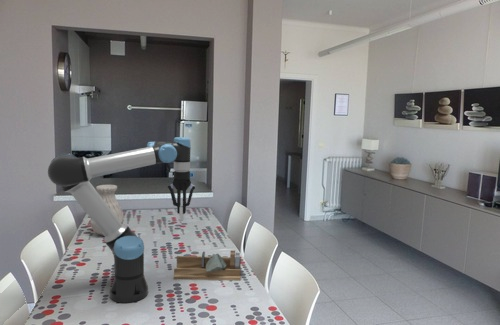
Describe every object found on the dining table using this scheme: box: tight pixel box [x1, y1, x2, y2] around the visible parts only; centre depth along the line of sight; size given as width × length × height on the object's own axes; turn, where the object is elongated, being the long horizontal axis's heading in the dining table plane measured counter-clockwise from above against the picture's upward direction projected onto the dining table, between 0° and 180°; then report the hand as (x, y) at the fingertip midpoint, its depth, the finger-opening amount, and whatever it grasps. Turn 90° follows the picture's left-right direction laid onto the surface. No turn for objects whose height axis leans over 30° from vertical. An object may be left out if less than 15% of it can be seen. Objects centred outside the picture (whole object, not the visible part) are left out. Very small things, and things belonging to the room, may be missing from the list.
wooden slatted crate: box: [173, 250, 242, 281], centre depth 180 cm, size 12×31×11 cm, turn 91°
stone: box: [206, 253, 226, 272], centre depth 179 cm, size 11×4×10 cm
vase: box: [89, 184, 125, 236], centre depth 236 cm, size 20×20×30 cm
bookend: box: [201, 251, 206, 268], centre depth 179 cm, size 5×3×9 cm, turn 1°
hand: (181, 220), depth 177 cm, fingers closed
